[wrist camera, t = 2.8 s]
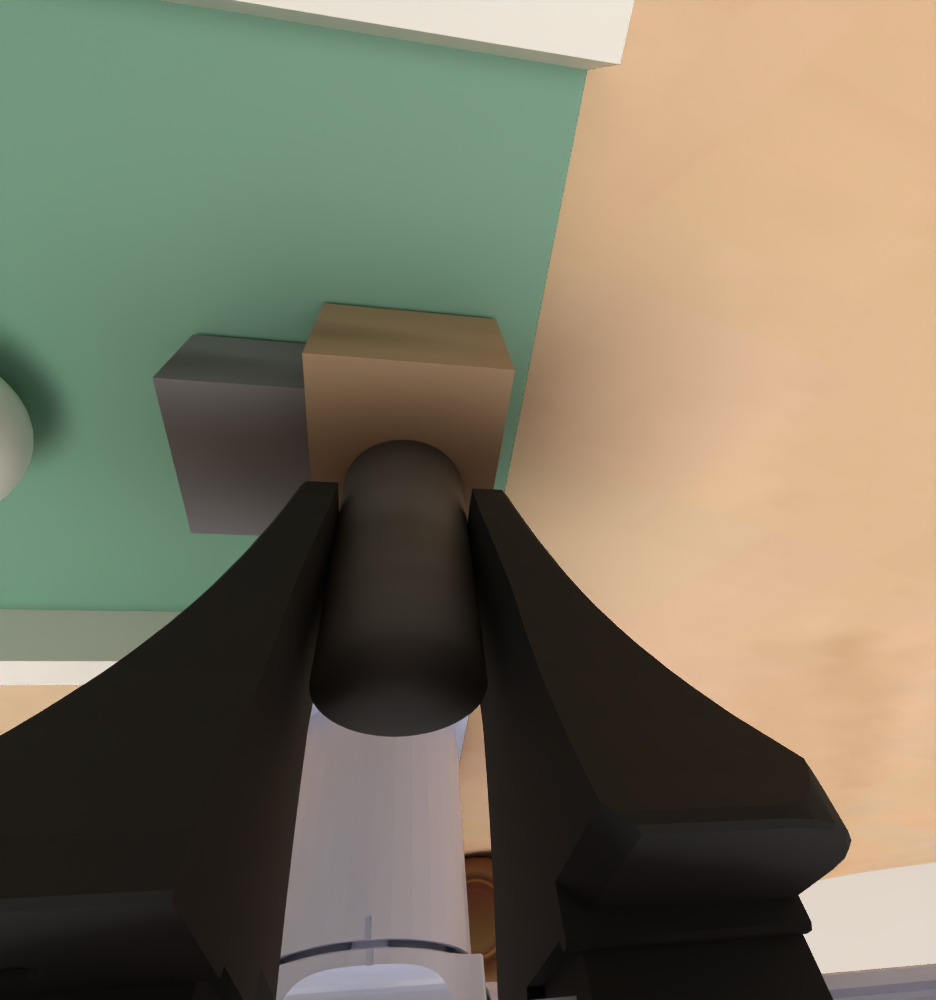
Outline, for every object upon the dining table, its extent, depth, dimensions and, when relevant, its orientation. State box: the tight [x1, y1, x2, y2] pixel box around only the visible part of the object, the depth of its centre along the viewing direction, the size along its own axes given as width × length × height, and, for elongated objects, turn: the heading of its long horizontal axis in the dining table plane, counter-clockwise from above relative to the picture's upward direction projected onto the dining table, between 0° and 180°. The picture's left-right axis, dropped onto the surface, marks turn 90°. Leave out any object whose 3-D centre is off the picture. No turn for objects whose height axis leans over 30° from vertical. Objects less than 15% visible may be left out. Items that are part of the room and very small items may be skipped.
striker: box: [152, 303, 515, 737], centre depth 11 cm, size 6×7×8 cm
